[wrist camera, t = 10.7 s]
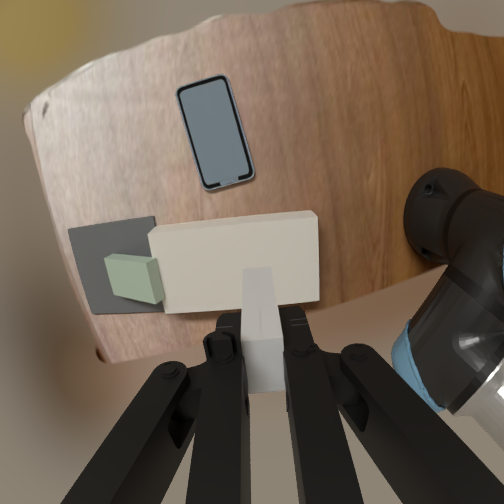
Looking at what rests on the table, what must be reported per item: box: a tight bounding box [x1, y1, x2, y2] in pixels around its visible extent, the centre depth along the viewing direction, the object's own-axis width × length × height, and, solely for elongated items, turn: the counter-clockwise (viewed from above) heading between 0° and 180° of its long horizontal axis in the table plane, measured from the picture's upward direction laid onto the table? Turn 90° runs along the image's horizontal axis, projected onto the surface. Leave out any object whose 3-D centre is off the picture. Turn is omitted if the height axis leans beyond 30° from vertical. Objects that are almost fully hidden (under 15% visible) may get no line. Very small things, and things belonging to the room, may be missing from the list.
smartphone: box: [175, 74, 255, 190], centre depth 39 cm, size 7×1×15 cm
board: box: [148, 210, 319, 314], centre depth 43 cm, size 22×12×4 cm, turn 96°
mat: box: [68, 216, 165, 314], centre depth 45 cm, size 15×15×1 cm
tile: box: [104, 254, 165, 304], centre depth 42 cm, size 9×6×2 cm, turn 96°
